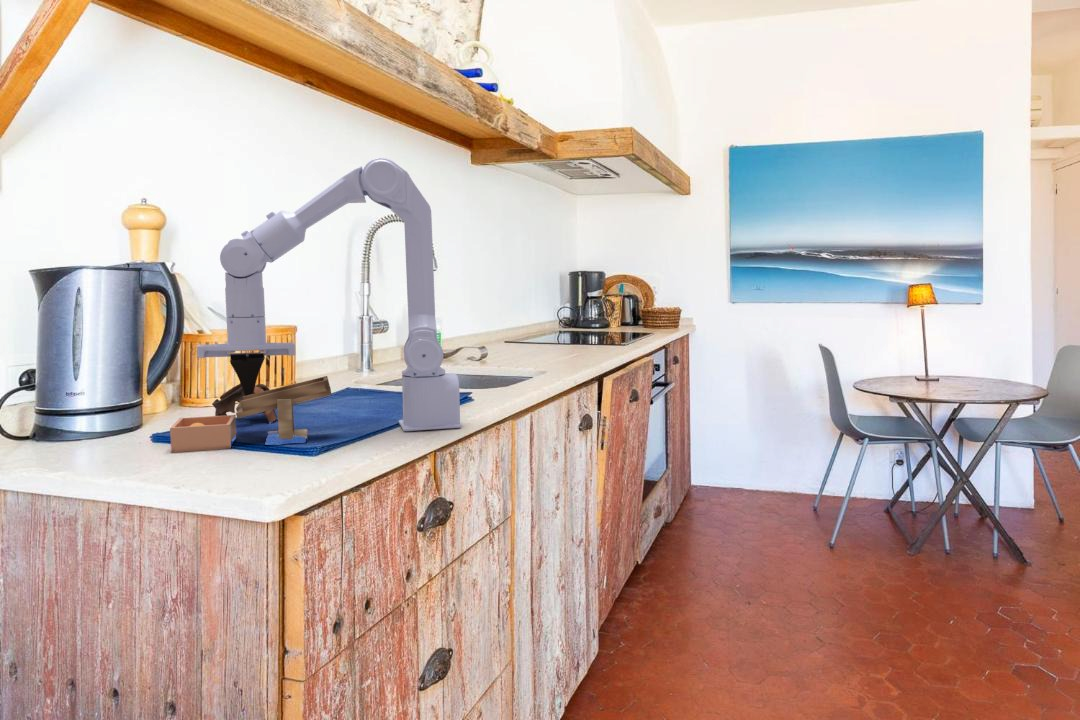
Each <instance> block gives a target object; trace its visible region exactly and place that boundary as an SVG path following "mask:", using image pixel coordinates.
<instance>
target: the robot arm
mask: <svg viewBox="0 0 1080 720" xmlns="http://www.w3.org/2000/svg"><path fill="white" fill-rule="evenodd" d="M366 196H367V197H368V198H369V200H371V201H373V202H374V203H376V204H378V205H380V206H382V207H385V208H387V209H390V211H391V212H392V213H394V215H395V216H397V217H398V218H399V219H400V220H401V221H402V222H403V224H404V244H405V245H404V248H405V268H406V269H405V270H406V272H405V273H406V294H407V318H408V320H407V321H408V323H407V324H408V336H407V339H406V341H405V342H404V346H403V358H404V362H405V365H406V368H405V369H404V370H402V371H401V387H402V388H401V391H402V419H398V424H399V426H400V427H401V429H402V430H403V432H414V431H415V432H416V431H428V430H430V431H431V430H444V429H459V428H461V427H462V424H461V405H460V404H461V403H460V402H461V401H460V399H461V398H460V395H461V394H460V383H459V377H458V375H457V373H452V372H451V373H450V372H449V373H446V369H445V368H442V364H443V361H444V350H443V347H442V346H441V344H440V342H439V340H438V334H437V322H436V306H435V305H436V304H435V303H436V302H435V299H436V297H435V277H434V276H435V275H434V273H435V272H434V249H433V222H432V220H433V219H432V218H433V217H432V209H431V206H430V204H429V202H428V201H427V199H426V198H425V196H423V194H422V192H421V191H420V190H419V188H418V187H417V185H416V184H415V183H414V181H413V179H412V177H411V176H410V174H409V172H408V171H407V170H405V169H404V168H403V167H401V166H400V165H399V164H397V163H396V162H395V161H393V160H392V159H391V160H390V159H389V158H387V157H386V158H385V157H377V158H373V159H371V160H370V161H368V162H367V163H366V164H365V165H364V167H363V166H359V167H357V168H354V169H353V170H351V171H350V172H348V173H347V174H344V175H343V176H341V177H340V178H339V179H338V180H336V181H335V182H333V183H332V184H330V185H329V186H328V187H326V188H325V189H324V190H322V191H321V192H319V193H318V194H317V195H315V196H314V197H313V198H311V199H310V200H309V201H308V202H305V204H303V205H302V206H300V207H299V208H298V209H296V210H295V211H293V212H290V211H286V210H280V211H278V212H277V213H276V212H274V211H271V212H269V213H268V214H266V215H265V216H266V218H267V220H265V221H263V222H262V223H260V224H258V226H255V228H253V229H252V230H250V231H248V230H244V231H242V233H241V234H240V235H241V236H242V238H233V239H230V240H229V241H228V243H227V244H225V245H224V246H223V247H222V249H221V251H220V254H219V261H220V263H221V264H220V265H221V266H222V268H223V269H224V271H225V274H224V275H225V276H224V277H225V278H224V280H225V281H224V282H225V289H224V292H225V293H224V294H225V296H224V297H225V310H226V311H225V314H226V332H227V333H226V334H227V343H214V344H198V345H196V356H197V357H196V358H197V359H206V358H227V357H230V359H229V363H230V364H231V367H232V368H233V371H234V372H235V374H236V376H237V378H238V381H239V382H240V383H241V385H242V388H243V391H244V395H245V396H247V395H251V394H254V389H255V386H256V385H257V380H258V378H259V377H258V376H259V373H260V371H261V369H262V366H263V363H264V361H265V359H266V356H296V343H295V342H267V333H266V331H267V329H266V311H265V310H266V309H265V308H266V307H265V305H266V304H265V288H264V285H263V284H264V283H263V272H264V271H265V268H266V266H267V264H268V263H270V264H271V263H273V262H276V260H278V259H280V258H281V257H282V256H284V255H285V254H287V253H288V252H290V251H291V250H293V249H294V248H296V247H297V246H298V245H300V244H302V243H303V242H304V241H305V237H306V232H307V229H309V228H311V227H312V226H314V225H316V223H319V221H322V220H323V219H325V218H326V217H328V216H330V215H331V214H333V213H334V212H336V211H338V210H339V209H341V208H343V207H344V206H346V205H347V204H358V203H359V204H365V203H367V201H366ZM251 351H252V352H251ZM253 351H256V352H253ZM257 351H259V352H257ZM240 383H239V384H240Z"/></svg>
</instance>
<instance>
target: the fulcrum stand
mask: <svg viewBox="0 0 1080 720" xmlns="http://www.w3.org/2000/svg"><path fill="white" fill-rule="evenodd" d="M294 417H295V416H294V404H293V405H291V399H278V400H277V425H278V428H277V429H278V430H274V431H273V430H271V431H267V433H278V434H279V439H293V435H294V436H295V435H296V436H300V437H301V436H302V437H305V438H307V439H308V428H304V429H295V423H294V421H295V419H294Z"/></svg>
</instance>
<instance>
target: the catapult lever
mask: <svg viewBox="0 0 1080 720" xmlns="http://www.w3.org/2000/svg"><path fill="white" fill-rule="evenodd" d="M329 396H332V389H331V386H330V380H329V377H328V375H325V376H320V377H317V378H313V379H308V380H304V381H300V382H297V383H293V384H289V385H288V384H287V385H284V386H281V387H276V388H272V389H270V390H267V391H263V392H259V393H255V394H251V395H247V396H243V400H242V401H240V403H239V402H238V405H237V406H236V408H235V410H236V411H235V415H236V419H241V418H245V417H249V416H253V415H258V414H262V413H261V412H265V411H269V410H273V409H274V410H276V409H277V400H278V399H291V405H293V406H294V405H297V404H302V403H306V402H309V401H313V400H316V399H320V398H323V397H329ZM277 410H278V409H277Z"/></svg>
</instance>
